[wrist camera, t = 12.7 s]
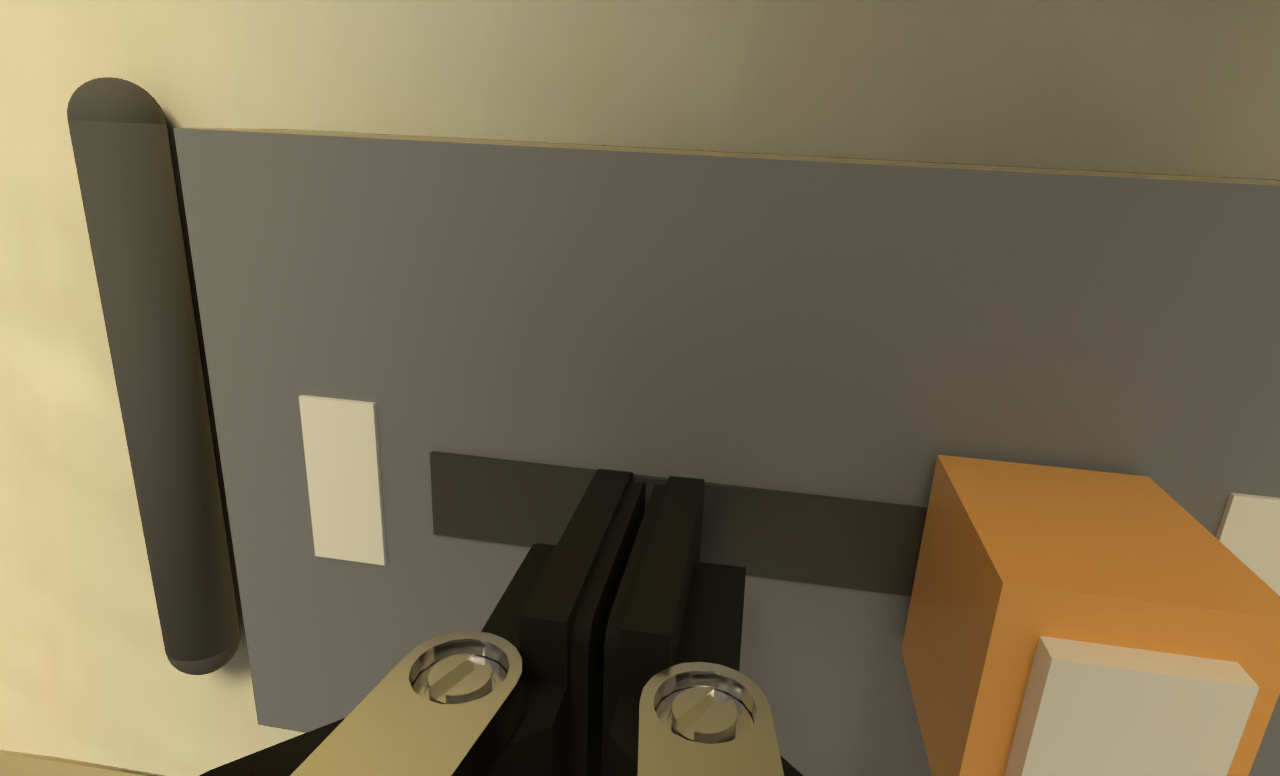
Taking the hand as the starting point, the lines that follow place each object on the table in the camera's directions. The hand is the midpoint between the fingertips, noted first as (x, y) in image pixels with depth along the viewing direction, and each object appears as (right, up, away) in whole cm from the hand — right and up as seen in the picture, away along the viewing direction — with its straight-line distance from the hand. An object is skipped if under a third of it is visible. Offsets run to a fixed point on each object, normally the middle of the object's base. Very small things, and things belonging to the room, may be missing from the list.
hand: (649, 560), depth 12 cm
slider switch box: (+2, +1, +4) cm, 5 cm away
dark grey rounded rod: (-10, +2, +6) cm, 12 cm away
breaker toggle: (+6, 0, 0) cm, 6 cm away
